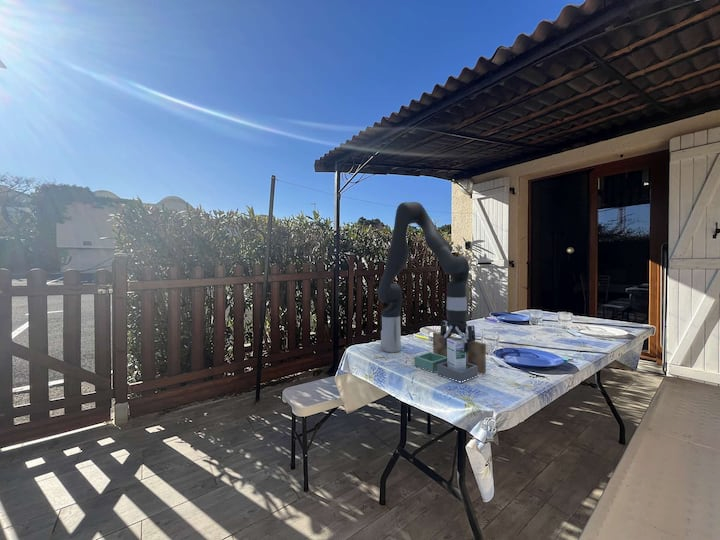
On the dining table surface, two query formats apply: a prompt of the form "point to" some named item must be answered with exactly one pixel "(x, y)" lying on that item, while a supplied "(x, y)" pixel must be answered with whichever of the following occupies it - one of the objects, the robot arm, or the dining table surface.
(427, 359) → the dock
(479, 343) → the back panel
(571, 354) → the dining table surface
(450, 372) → the box
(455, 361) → the syrup box
